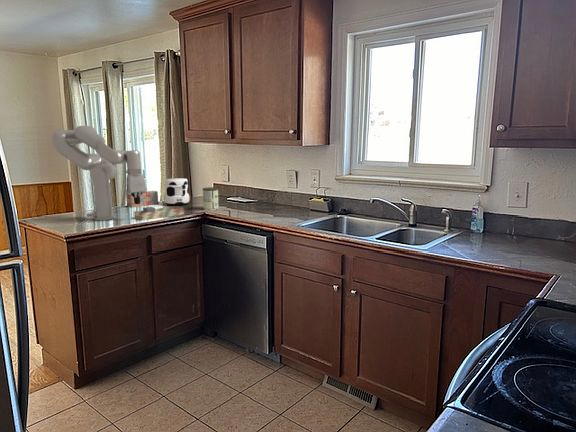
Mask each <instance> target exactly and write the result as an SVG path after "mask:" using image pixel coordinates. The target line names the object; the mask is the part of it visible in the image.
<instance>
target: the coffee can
mask: <svg viewBox="0 0 576 432" xmlns="http://www.w3.org/2000/svg"><path fill="white" fill-rule="evenodd" d="M202 204H203V205H202V206H203V210H204V211H217V210H216V209H218V210H219V209H220V207H219V205H220V204H219V188H218V187H216V186H215V187H213V186H211V187H203V188H202Z"/></svg>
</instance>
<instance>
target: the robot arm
mask: <svg viewBox="0 0 576 432" xmlns="http://www.w3.org/2000/svg"><path fill="white" fill-rule="evenodd" d="M51 144H52V147H53V148H54V150H55V151H56V152H57V153H58V154H59V155H61V156H62V157H64V158H65V159H67V160H69V162H71V163H73V164H74V165H76V166H77V167H78V168H80V169H81V170H84V171H90V177H91V181H92V187H93V200H94V201H93V203H94V211H93V212H91V213H86V217H87V218H91V217H92V219H93V220H94V221H108V220H109V221H110V220H115V219H116V218H117V215H115V214H114V211H113V210H114V209H113V195H112V185H111V183H110V180H113V179H115V178H116V177H117V176H118V169H117V166H115V165H121V164H122V165H123V164H126V167H127V168H126V170H125V172H124V173H125V174H127V175H126V180H125V186H126V189H127V194H128V195H132V196H133V197H134V203H135V204H140V197H141V195H142V194H143V193H145V191H146V190H147V186H146V179H145V176H144V174H143V173H142V162H141V161H142V159H141V152H140V151H139V150H124V149H123V150H120V149H119V150H118V149H117V150H116V149H113V148H112V147H110V146H108V145H107V143H106V139H105V137H103V136H101V135H100V134H98V131H97V129H95V128H94V127H93V126H90V125H78V126H77V127H75V128H74V129H69V130H68V129H60V130H56V131H54V132H53V133H52V135H51ZM78 144H84V145H86V146H88V147H89V148H91V149H93V150H94V151H95V152H96V153H86V152H85V151H83V150H81V149H80V148H78V147H77V146H74V145H78ZM126 189H125V190H126ZM131 192H132V193H131ZM136 192H137V195H136Z"/></svg>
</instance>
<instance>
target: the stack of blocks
mask: <svg viewBox="0 0 576 432" xmlns="http://www.w3.org/2000/svg"><path fill="white" fill-rule="evenodd" d="M131 193H132V192H131ZM136 195H137V192H136ZM125 198H126V207H127V206H128V207H127V208H140V207H148V206H153V205H159V193H158V190H147V189H146V191H145V193H143V194H142V195H141V197H140V204H135V203H134V197H133V196H132V195H128V194H127V189H125Z"/></svg>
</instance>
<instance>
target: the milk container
mask: <svg viewBox="0 0 576 432" xmlns="http://www.w3.org/2000/svg"><path fill="white" fill-rule="evenodd" d="M188 188H189V185H188V178H184V177H183V178H181V177H180V178H179V177H177V178H176V177H175V178H165V179H164V189H165V192H164V196H163V197H164V199H163V200H164V203H165V204H167V205H168V206H169V205H171V206H183V205H187V204H189V202H190V194H189V189H188Z"/></svg>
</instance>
